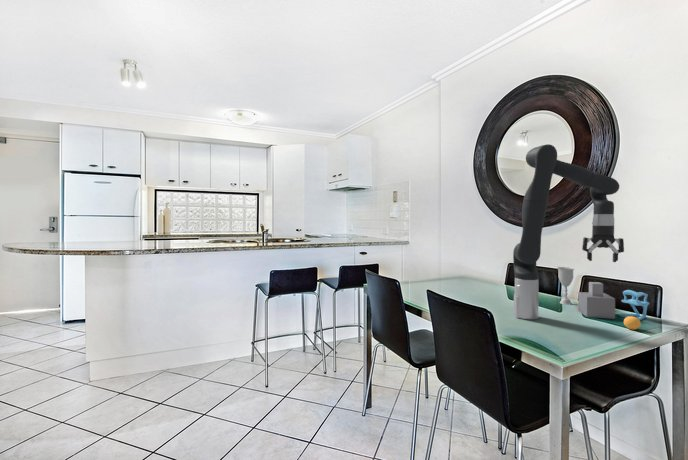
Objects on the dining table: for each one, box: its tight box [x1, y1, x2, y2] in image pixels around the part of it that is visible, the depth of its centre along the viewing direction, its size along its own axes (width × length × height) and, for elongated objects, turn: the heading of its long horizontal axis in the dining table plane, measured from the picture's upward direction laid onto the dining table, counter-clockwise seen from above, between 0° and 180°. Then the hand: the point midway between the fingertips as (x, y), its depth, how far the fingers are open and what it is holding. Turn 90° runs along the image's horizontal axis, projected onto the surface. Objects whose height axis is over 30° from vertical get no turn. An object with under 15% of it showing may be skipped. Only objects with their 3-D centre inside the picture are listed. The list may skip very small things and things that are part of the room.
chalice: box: [557, 266, 575, 305], centre depth 166 cm, size 7×7×18 cm
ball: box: [623, 316, 642, 330], centre depth 127 cm, size 5×5×5 cm
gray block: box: [577, 281, 616, 320], centre depth 146 cm, size 10×10×14 cm
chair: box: [618, 289, 650, 321], centre depth 141 cm, size 8×8×12 cm
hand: (602, 261), depth 144 cm, fingers open, 8 cm apart
